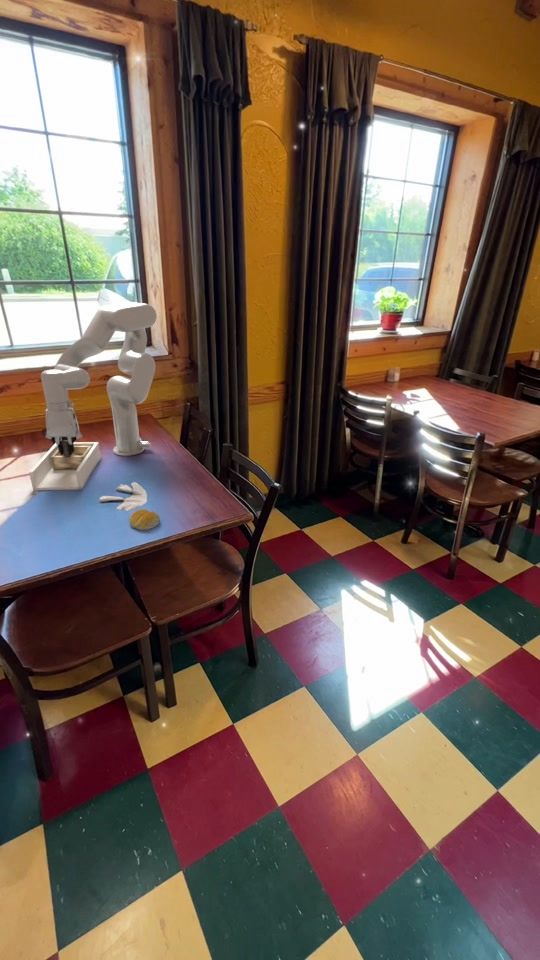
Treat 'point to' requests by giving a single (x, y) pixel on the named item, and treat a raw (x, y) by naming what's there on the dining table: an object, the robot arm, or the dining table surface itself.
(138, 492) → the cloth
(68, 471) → the bay
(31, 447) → the dining table surface
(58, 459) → the box
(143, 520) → the bread roll
